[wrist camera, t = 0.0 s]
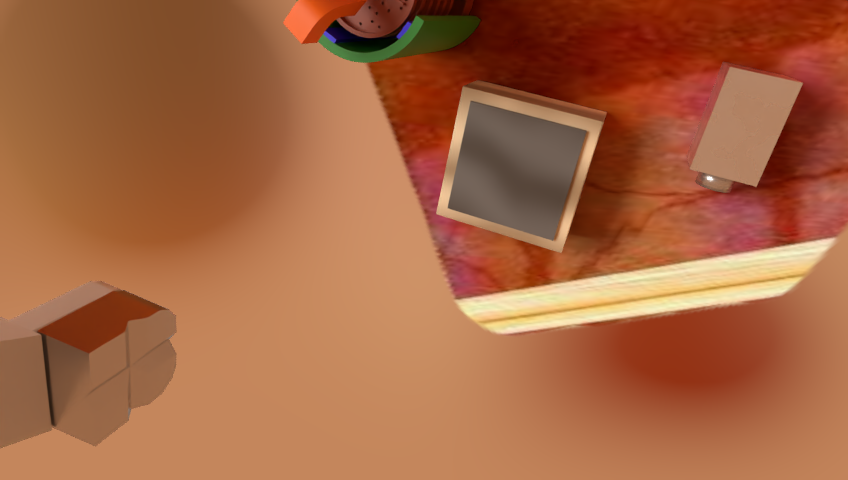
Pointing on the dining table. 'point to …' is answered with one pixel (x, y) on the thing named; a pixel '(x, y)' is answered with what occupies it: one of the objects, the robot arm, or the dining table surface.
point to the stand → (518, 163)
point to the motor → (382, 26)
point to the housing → (740, 126)
